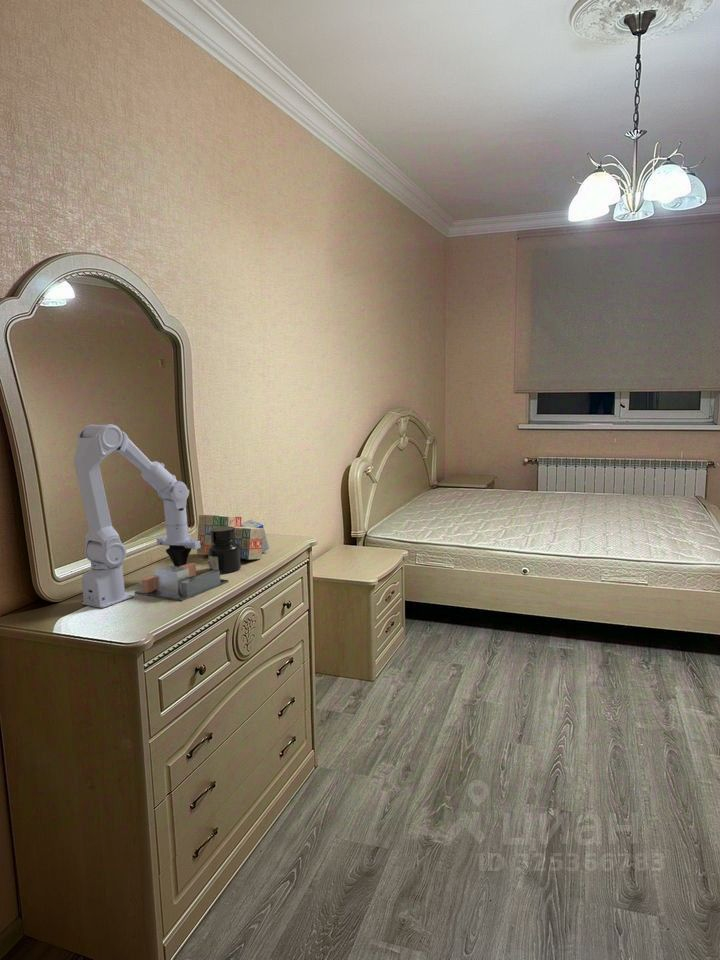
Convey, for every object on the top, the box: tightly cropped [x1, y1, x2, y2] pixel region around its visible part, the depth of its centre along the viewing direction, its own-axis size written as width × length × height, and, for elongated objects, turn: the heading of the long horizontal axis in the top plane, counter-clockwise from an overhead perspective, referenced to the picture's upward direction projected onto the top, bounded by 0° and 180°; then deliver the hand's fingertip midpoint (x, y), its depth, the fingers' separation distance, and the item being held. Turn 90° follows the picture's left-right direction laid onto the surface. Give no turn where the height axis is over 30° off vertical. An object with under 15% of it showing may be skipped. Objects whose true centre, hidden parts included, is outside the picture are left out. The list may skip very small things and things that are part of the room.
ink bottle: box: [207, 526, 242, 574], centre depth 191 cm, size 10×9×12 cm
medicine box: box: [241, 519, 270, 553], centre depth 209 cm, size 8×4×9 cm, turn 39°
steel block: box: [153, 564, 189, 595], centre depth 171 cm, size 4×8×6 cm, turn 60°
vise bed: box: [134, 570, 229, 602], centre depth 176 cm, size 17×17×4 cm
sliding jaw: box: [141, 562, 197, 593], centre depth 178 cm, size 17×2×3 cm, turn 150°
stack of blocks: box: [196, 514, 265, 560], centre depth 204 cm, size 21×6×12 cm, turn 58°
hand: (180, 572), depth 184 cm, fingers closed
